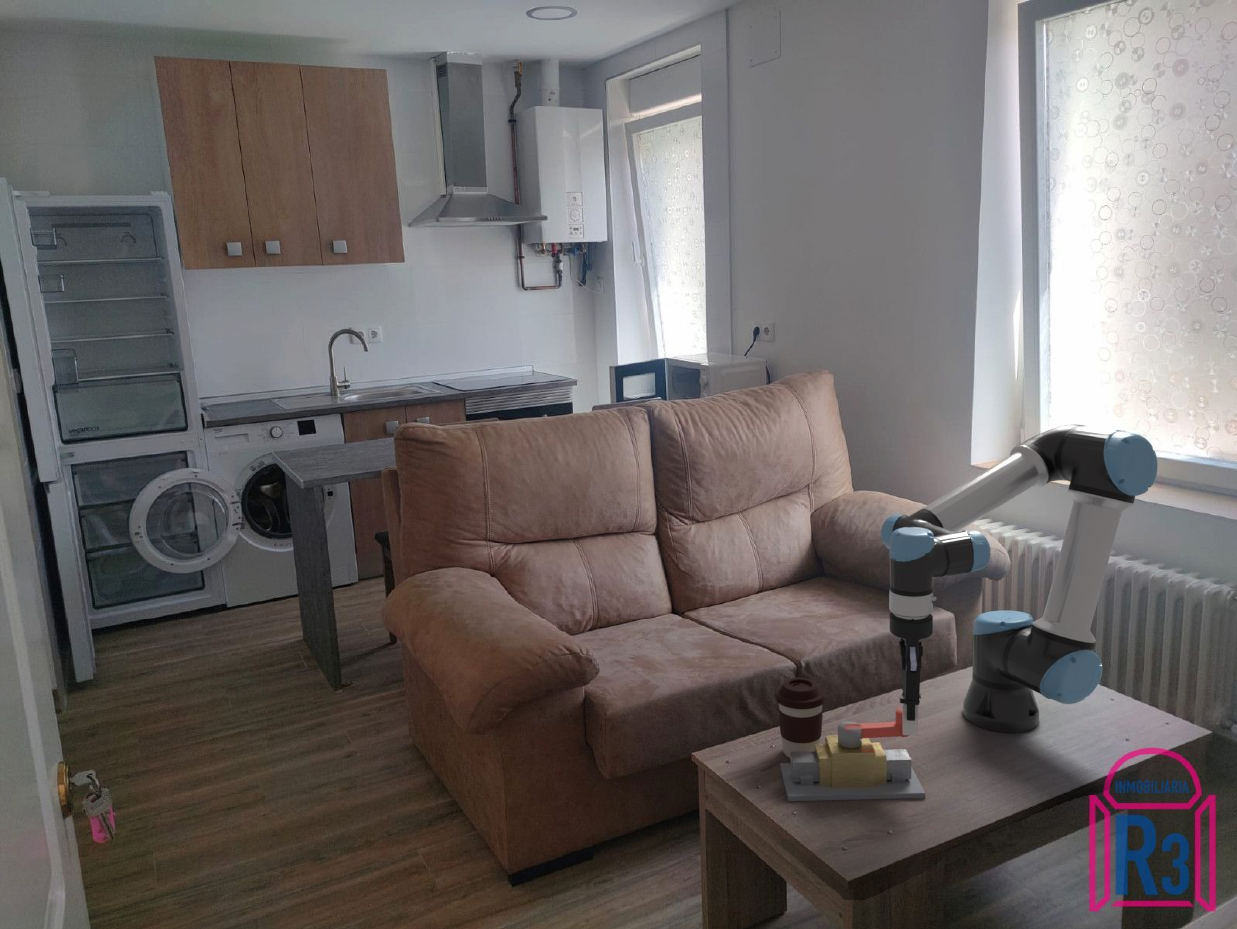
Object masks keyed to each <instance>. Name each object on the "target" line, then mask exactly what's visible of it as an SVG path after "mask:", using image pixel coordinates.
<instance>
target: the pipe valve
mask: <svg viewBox="0 0 1237 929" xmlns="http://www.w3.org/2000/svg"><path fill="white" fill-rule="evenodd" d="M870 739H871V738H862V744H861V746H859V747H856V748H847V747H843V746H841V745H840V744H839V743H838V734H833V735H832V734H829V735H826V734H825V739H824V740H825V742H824V743H820V744H815V752H790V758H789V759H790V760H789V763H790V769H791V775H792V779H793V782H800V785H801V786H813V785H814V782H819V785H820V786H832V788H848V787H875V785H886V783H887V780H891V782H892V784H893V783H905V779H911V766H912V757H911V756H910V754H909V752H908V750H907V749H906V748H899V749H898V748H897V749H896V748H895V749H894V748H893V749H884V748H883V747H882V745H881V742H879V741H878V742H871V740H870Z"/></svg>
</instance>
